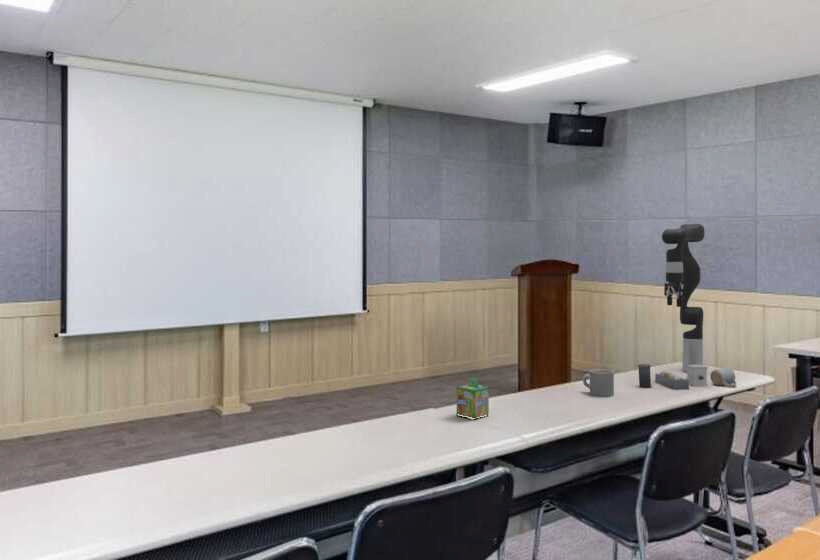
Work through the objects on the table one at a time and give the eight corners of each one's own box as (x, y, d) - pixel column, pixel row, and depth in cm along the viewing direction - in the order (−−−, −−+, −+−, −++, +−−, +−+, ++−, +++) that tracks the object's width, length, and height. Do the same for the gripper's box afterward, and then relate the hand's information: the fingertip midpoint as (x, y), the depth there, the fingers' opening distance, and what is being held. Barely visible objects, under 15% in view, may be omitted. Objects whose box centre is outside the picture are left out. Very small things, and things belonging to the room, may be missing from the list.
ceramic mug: (708, 383, 292) (709, 367, 291) (722, 382, 294) (722, 366, 294) (727, 388, 282) (727, 371, 281) (741, 387, 284) (741, 370, 284)
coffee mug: (618, 394, 274) (618, 371, 274) (605, 397, 268) (605, 374, 267) (592, 389, 284) (591, 367, 284) (578, 392, 278) (578, 370, 278)
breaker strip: (655, 382, 298) (655, 370, 297) (669, 381, 298) (669, 369, 298) (673, 389, 281) (673, 377, 280) (688, 389, 281) (688, 376, 281)
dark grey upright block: (637, 385, 291) (636, 364, 290) (649, 385, 290) (648, 363, 290) (640, 387, 285) (639, 366, 285) (653, 387, 285) (652, 365, 285)
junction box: (686, 383, 293) (686, 364, 293) (699, 383, 294) (699, 364, 293) (695, 386, 286) (695, 367, 285) (708, 386, 286) (708, 367, 286)
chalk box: (455, 416, 242) (455, 378, 241) (471, 412, 248) (470, 374, 248) (474, 420, 235) (473, 381, 235) (489, 416, 242) (489, 377, 241)
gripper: (659, 271, 301) (659, 305, 302) (674, 272, 287) (674, 307, 287) (674, 271, 302) (674, 304, 302) (690, 271, 288) (690, 307, 288)
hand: (674, 306), depth 295 cm, fingers open, 8 cm apart
